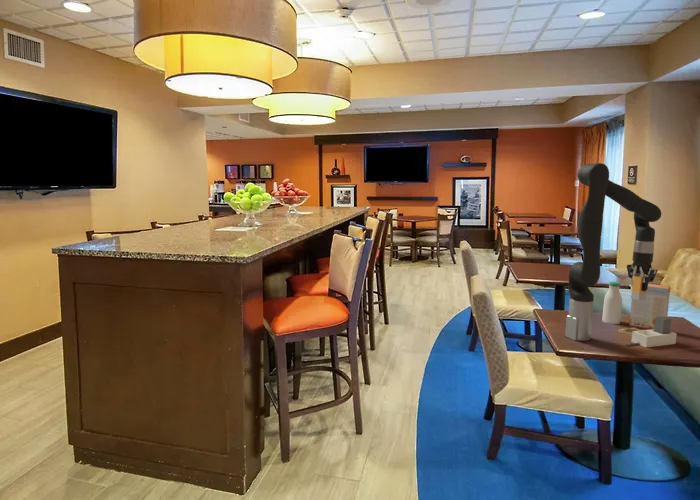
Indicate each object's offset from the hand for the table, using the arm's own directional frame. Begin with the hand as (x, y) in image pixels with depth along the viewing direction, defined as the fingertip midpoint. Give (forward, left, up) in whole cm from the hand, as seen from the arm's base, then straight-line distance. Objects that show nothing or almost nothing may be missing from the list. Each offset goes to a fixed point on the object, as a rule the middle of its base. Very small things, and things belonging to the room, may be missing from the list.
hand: (639, 289), depth 206 cm
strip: (-5, -11, -21) cm, 24 cm away
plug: (0, 0, -4) cm, 4 cm away
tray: (0, 0, -21) cm, 21 cm away
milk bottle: (+5, +18, -21) cm, 28 cm away
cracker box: (+14, +6, -21) cm, 26 cm away
